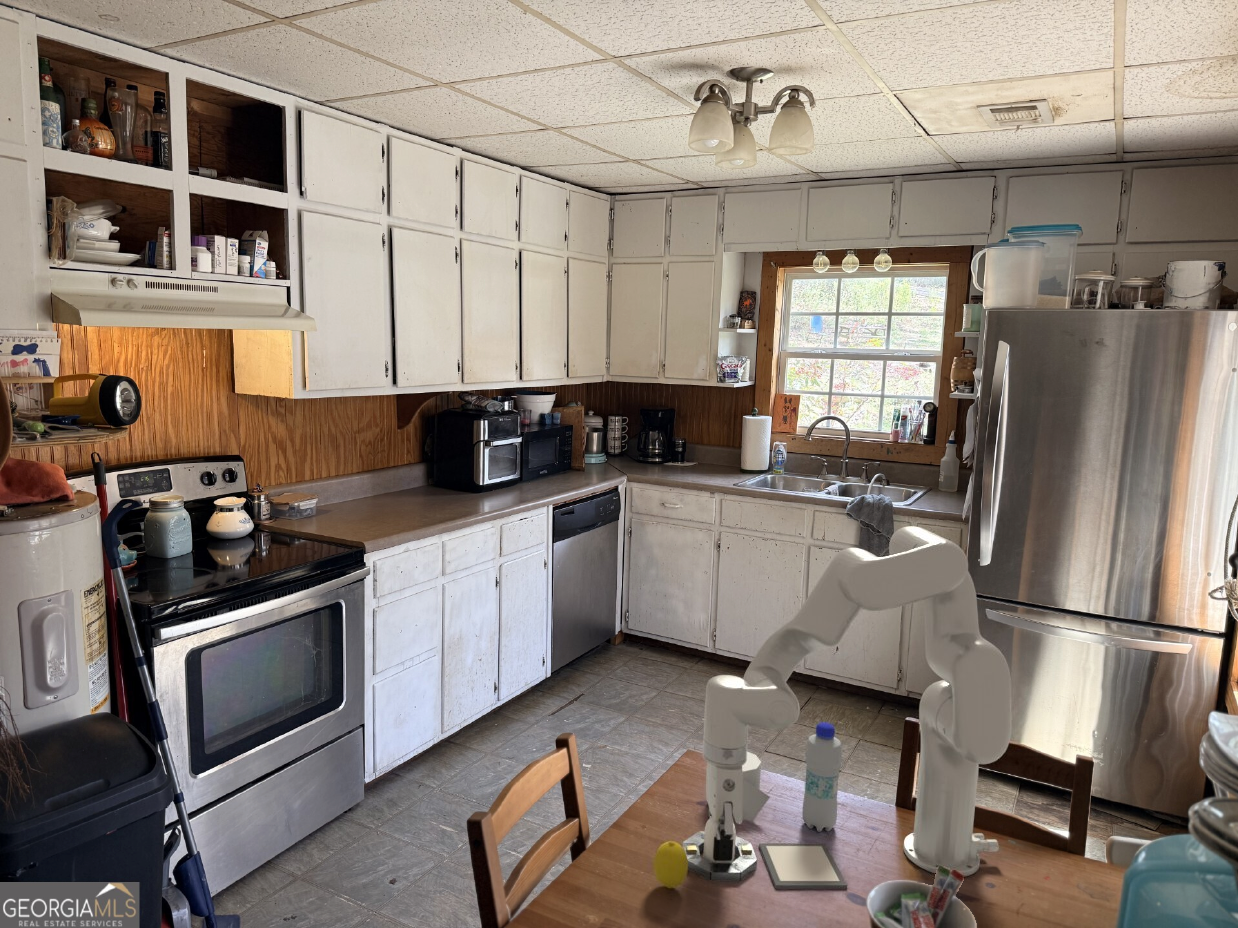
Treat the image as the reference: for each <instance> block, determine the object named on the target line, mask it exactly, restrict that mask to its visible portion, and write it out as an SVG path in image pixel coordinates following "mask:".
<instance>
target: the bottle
mask: <svg viewBox="0 0 1238 928" xmlns="http://www.w3.org/2000/svg"><path fill="white" fill-rule="evenodd" d="M835 733H836V729H835V727H834V725H833V724H831V723H829V722H825V721H824V722H823V721H822V722H819V723H818V724H817V725H816V727H815V733H814V734H812V735H810V736H808V740H807V745H806V749H805V753H804V755H805V759H804V761H805V763H806V769H805V770H806V772H805V784H804V794H803V795H804V796H803V803H802V811H801V813H802V816H801V817H802V820H803V822H804V824H806V827H808V829H813V828H814V827H816V830H817V832H820V833H821V832H822V831H823V829H825V831H826V832H829V831H831V830H832V829H833V827H834V826H836V822H837V817H838V790H839V774H840V770H841V768H842V762H843V756H842V742H841V740H840V739H838V738H837V737H835Z"/></svg>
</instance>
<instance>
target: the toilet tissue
mask: <svg viewBox="0 0 1238 928" xmlns="http://www.w3.org/2000/svg"><path fill="white" fill-rule="evenodd" d="M761 770H762V761H761V760H760V758H759V756H757V755H756V754H755V753H752V752H750V751H748V750H747V761H746V763H745V764H744V765H742V772H743V820H745V821H749V822H754V820H755V819H756V817H757V816H758V815H759V814H760V812H761V811H762V810H763V807H764V806H765V805H766V804H767V802H768V801H769V799H770V798H771V797H770V795H768V794H767V793H765V792H763V791H762V790H760V789H761V788H760V786H761Z"/></svg>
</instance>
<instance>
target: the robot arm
mask: <svg viewBox="0 0 1238 928" xmlns="http://www.w3.org/2000/svg"><path fill="white" fill-rule="evenodd" d="M888 551H889V555H888V556H881V557H878V556H877V555H875V554H874V553H871V552H870V551H868V550H865V549H863V548H858V547H847V548H844V549H842V550H840V551H839V552H837V554H836V555H835V556H834V557H833V558H832V560H831V561H830V563H829V564H828V566H827V567H826V569H825V571H824V572H823V573H822V575H821V577H820V578H819V579H818V581H817V583H816V584H815V586H814V588H813V589H812V591H811V592H810V593H809V595H808V596H807V598H806V600H805V601H804V602H803V604H802V605H801V607H800V608H799V610H798V611H797V613H796V614H795V616H793V618H791V619H790V620H789V621H787V622H786V623H784V624H783V625H782V626H781V627H779V628H778V630H776V631H774V633H772V634H771V635H770V636H769V637H768V638H767V639H766V640H765V642H764V643H763V644H762V646H761V647H760V648H759V650H758V651H757V653H756V654H755V656H754V657H753V658H752V660H751V662H750V663H749V666H748V667H747V668H746V670H745V673H744V675H743V678H742V677H739V676H736V675H731V674H719V675H716V676H713V677H711V678H709V679H708V681H707V683H706V686H705V695H704V696H705V698H704V700H705V701H704V716H703V717H704V720H703V735H702V737H703V739H702V759H703V760H704V761H705V762H706V774H705V775H706V777H705V796H706V801H707V805H708V816H709V817H707V821H708V820H709V819H710V817H712V818H713V820H714V822H716V837H714V848H713V859H714V860H715V861H731V860H732V854H733V823H734V821H735V823H736V824H738V825H741V824H742V823H743V820H744V819H743V772H742V765H744V764H745V763H746V761H747V751H748V739H749V726H751V727H756V728H761V729H766V730H773V731H776V730H777V731H779V730H781V731H782V730H785V729H788V728H790V727H792V726H793V725H795V724H796V722H797V721H798V719H799V717H800V713H801V706H800V702H799V699H798V698H797V695H795V693H794V691H793V690H792V689H791V687H790V686H789V685H788V683H787V681H788V679H789V678H790V677H791V675H792V673H794V670H795V669H796V667H797V666H799V664H800V663H801V662H802V661H803V660H804V659H805V658H806V657H807V656H809V655H811V654H813V653H815V652H818V651H824V650H830V649H834V648H836V647H838V646H839V645H841V643H842V641H844V639H845V637H846V635H847V634H848V633H849V631H850V629H851V627H852V626H853V624H855V621H856V620H857V618H858V617H859V615H860V613H862V611H863V610H865V611H868V612H883V611H887V610H893V609H896V608H900V607H904V606H909V605H911V604H914V603H918V602H921V601H923V611H924V636H925V637H924V639H925V642H924V643H925V644H924V647H925V649H924V650H925V651H924V652H925V653H924V654H925V660H926V662H927V665H928V667H929V668H930V669H931V670H932V671H933V672H934V673H935V674H936V675H937V676H938V677H940V678H941V680H939V681H935V682H933V683H932V684H930V685H929V686H927V687H926V689H925V690H924V691H923V692H922V693H923V694H922V696H921V698H920V701H919V707H918V708H919V709H918V712H919V713H918V715H919V730H920V754H919V755H920V756H919V768H918V777H917V778H918V779H917V791H916V802H915V815H914V828H913V832H912V833H910V834H908V835H907V836H905V838H904V840H903V852H904V853H905V854H904V855H906V857H907V858H908V859H909V861H911V862H912V863H914V864H915V865H916V866H918V867H919V868H921V869H923V870H926V871H927V872H930V873H931V874H935V872H936V870H937V867H938V866H945V867H947V868H950V870H957V871H958V872H961V873H962V874H963V875H965V876H964V877H967V876H969V877H970V876H971V875H973V874H975V873H976V872H977V871H978V870H979V868H980V863H981V862H980V856H979V854H981V853H982V852H984V851H985V852H998V851H999V850H1000V846H999V842H998V840H997V839H985V835H984V834H983V833H982V832H981V833H980V832H977V833H976V832H975V833H973V832H974V831H973V830H974V820H975V808H976V799H977V798H976V797H977V788H978V780H979V765H987V764H991V763H994V762H996V761H998V759H999V760H1000V758H1001V757H1002V756H1003V755H1004V754H1005V753H1006V751H1007V749H1008V747H1009V745H1010V740H1011V735H1012V682H1011V681H1012V679H1011V678H1012V677H1011V672H1010V667H1009V665H1008V662H1007V659H1006V657H1005V655H1003V653H1002V652H1001V650H1000V649H999V648H998V647H997V646H995V644H993V643H991V642H990V641H988V640H987V639H985V638H984V637H983V636H982V635H981V631H980V626H979V613H978V611H979V610H978V601H977V599H978V598H977V593H976V588H975V585H974V581H973V578H972V576H971V574H970V571H969V561H968V558H967V555H966V553H965V552H964V550H963V549H962V548H961V547H960V546H959V545H958V544H956V543H955V542H953V541H951V540H949V539H947V538H944V537H942V536H940V535H938V534H937V533H934V532H932V531H930V530H929V529H928V530H927V529H926V528H923V527H920V526H913V525H912V526H904V527H901V528H899V529H897V530H896V531H895V532H893V534H892V536H891V537H890V540H889V545H888ZM721 816H722V817H724V819H719V818H721ZM720 824H724V829H722V830H721V831H720Z"/></svg>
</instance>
